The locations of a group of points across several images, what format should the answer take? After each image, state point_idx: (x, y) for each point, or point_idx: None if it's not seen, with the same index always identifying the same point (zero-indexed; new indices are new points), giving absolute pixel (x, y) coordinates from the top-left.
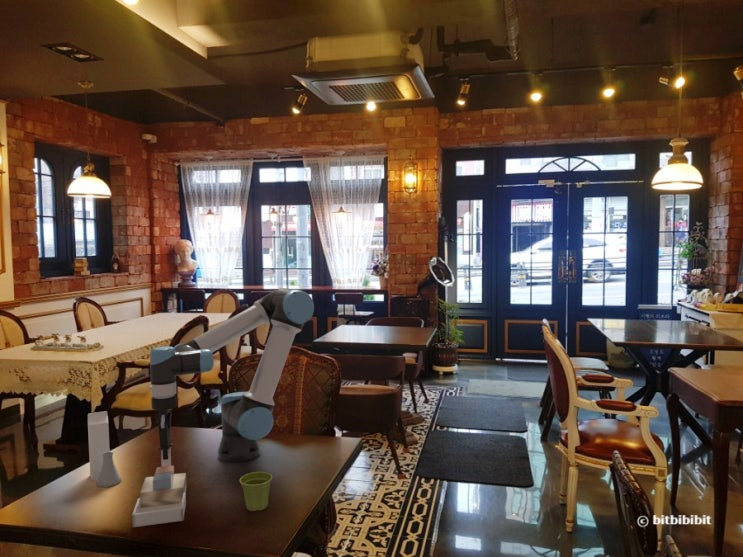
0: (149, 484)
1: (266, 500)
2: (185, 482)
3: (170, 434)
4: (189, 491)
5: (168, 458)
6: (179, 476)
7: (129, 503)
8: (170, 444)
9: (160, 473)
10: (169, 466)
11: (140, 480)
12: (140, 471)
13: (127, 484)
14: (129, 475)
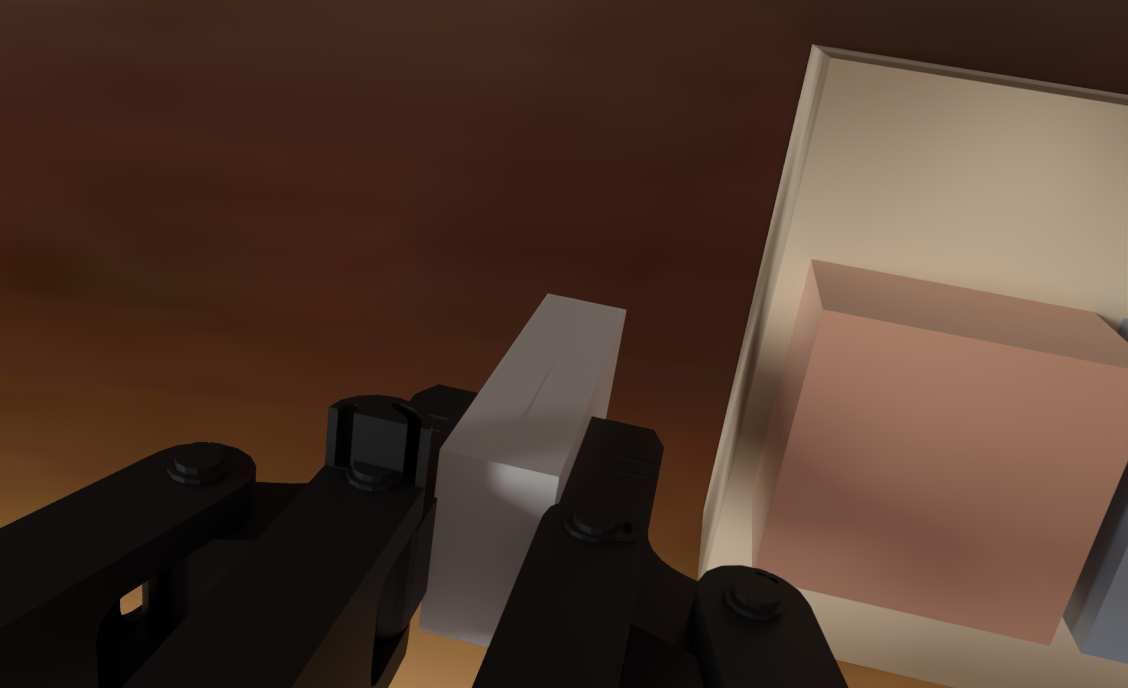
0: None
1: None
2: (988, 78)
3: (22, 543)
4: (954, 12)
5: (594, 409)
6: (950, 185)
7: (898, 679)
8: (379, 465)
9: (1121, 573)
10: (831, 388)
11: None
12: (57, 490)
13: None
14: (137, 592)
